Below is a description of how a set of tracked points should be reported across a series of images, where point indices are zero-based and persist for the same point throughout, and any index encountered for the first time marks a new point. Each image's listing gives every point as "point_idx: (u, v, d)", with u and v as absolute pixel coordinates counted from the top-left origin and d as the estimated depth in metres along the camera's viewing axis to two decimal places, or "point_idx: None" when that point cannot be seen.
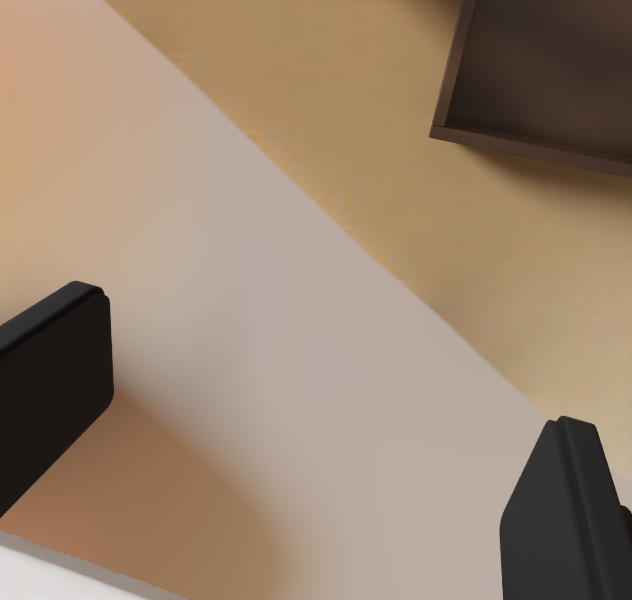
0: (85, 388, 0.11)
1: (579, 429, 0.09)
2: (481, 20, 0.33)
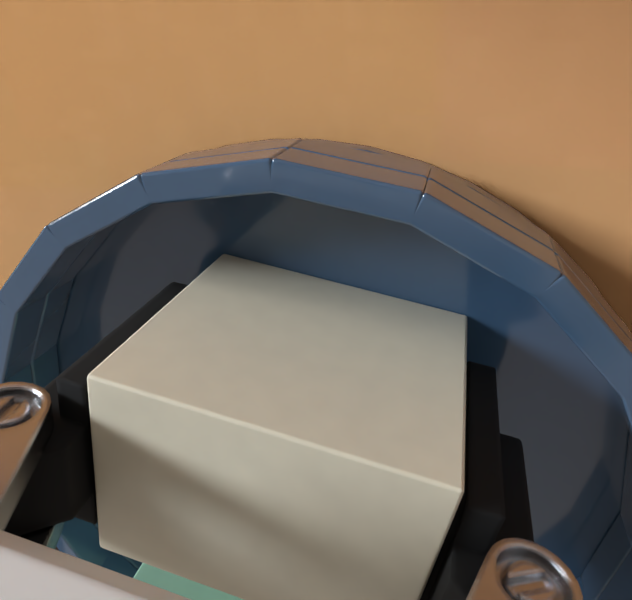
0: None
1: (479, 370, 0.10)
2: None
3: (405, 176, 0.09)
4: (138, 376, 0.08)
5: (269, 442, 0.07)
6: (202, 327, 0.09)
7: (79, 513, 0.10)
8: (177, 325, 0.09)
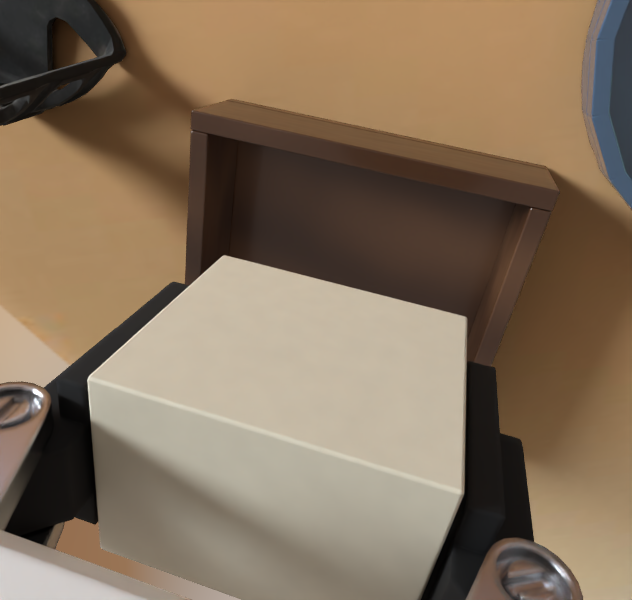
0: None
1: (479, 370, 0.10)
2: (240, 239, 0.27)
3: None
4: (138, 378, 0.08)
5: (269, 444, 0.07)
6: (203, 329, 0.09)
7: (79, 513, 0.10)
8: (177, 327, 0.09)
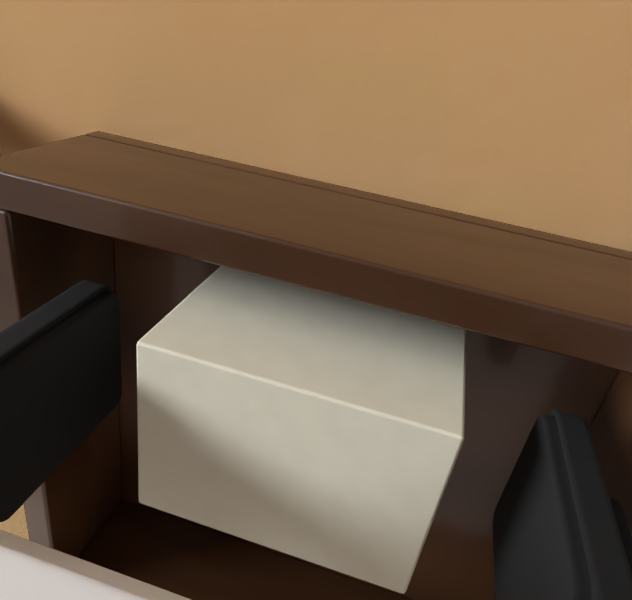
0: (94, 387, 0.11)
1: (570, 423, 0.09)
2: (135, 366, 0.16)
3: None
4: (180, 344, 0.09)
5: (296, 399, 0.09)
6: (232, 305, 0.10)
7: None
8: (209, 303, 0.10)
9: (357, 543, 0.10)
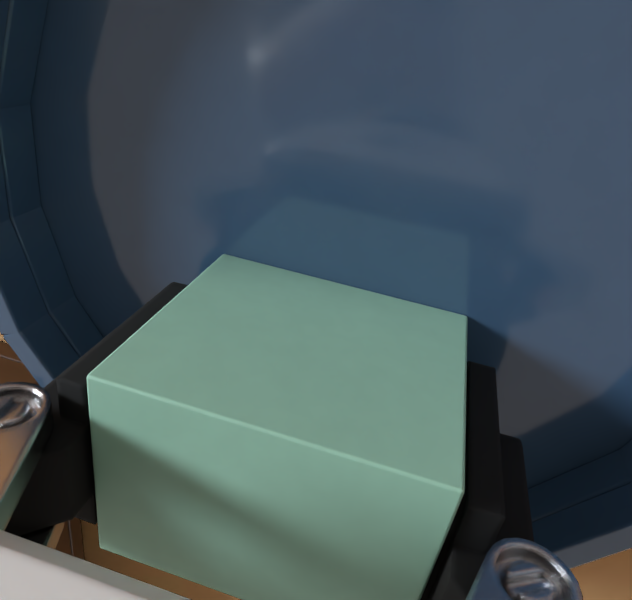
0: None
1: (479, 371, 0.10)
2: None
3: None
4: None
5: None
6: None
7: (79, 513, 0.10)
8: None
9: None
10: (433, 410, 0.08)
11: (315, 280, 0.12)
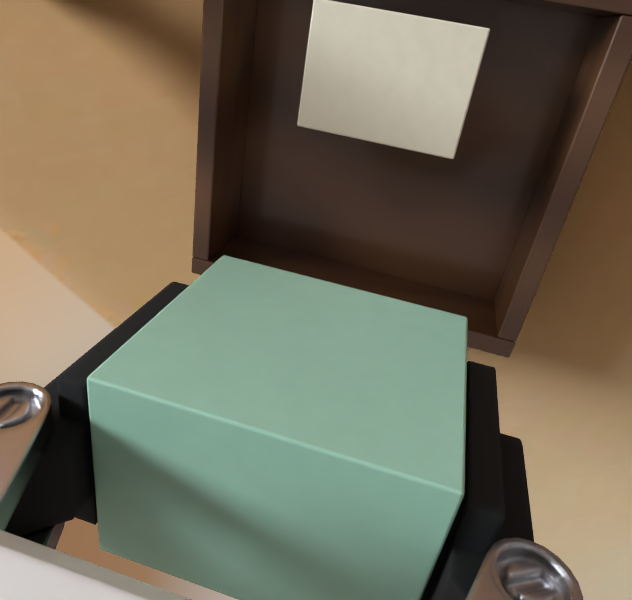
0: None
1: (479, 370, 0.10)
2: (260, 114, 0.24)
3: None
4: None
5: (401, 20, 0.16)
6: None
7: (79, 513, 0.10)
8: None
9: (428, 123, 0.18)
10: (432, 411, 0.08)
11: (315, 281, 0.12)
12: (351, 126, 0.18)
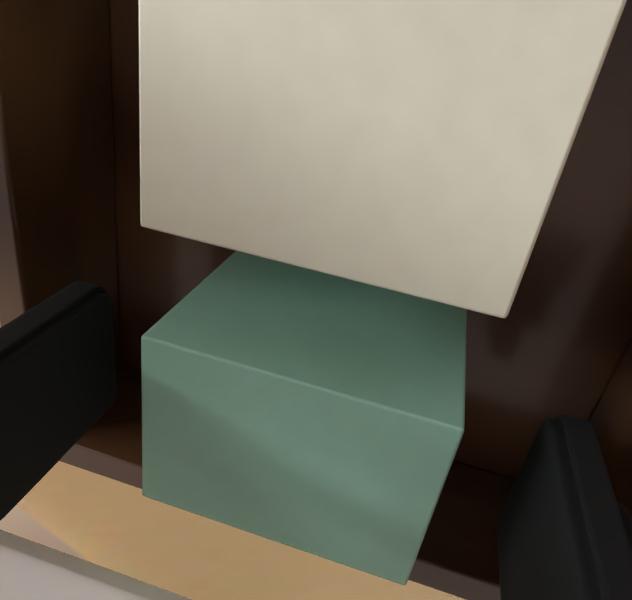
0: (88, 388, 0.11)
1: (576, 427, 0.09)
2: (135, 170, 0.13)
3: None
4: None
5: None
6: None
7: None
8: None
9: (445, 236, 0.07)
10: (437, 368, 0.10)
11: None
12: (259, 234, 0.08)
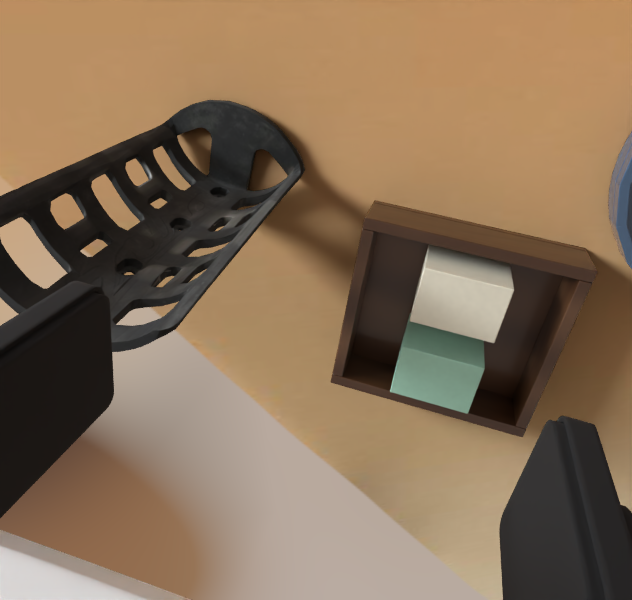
0: (85, 388, 0.11)
1: (579, 429, 0.09)
2: (373, 289, 0.40)
3: None
4: (435, 268, 0.33)
5: (469, 281, 0.33)
6: (440, 259, 0.35)
7: None
8: (434, 259, 0.35)
9: (481, 326, 0.34)
10: (476, 354, 0.37)
11: None
12: (439, 324, 0.35)
